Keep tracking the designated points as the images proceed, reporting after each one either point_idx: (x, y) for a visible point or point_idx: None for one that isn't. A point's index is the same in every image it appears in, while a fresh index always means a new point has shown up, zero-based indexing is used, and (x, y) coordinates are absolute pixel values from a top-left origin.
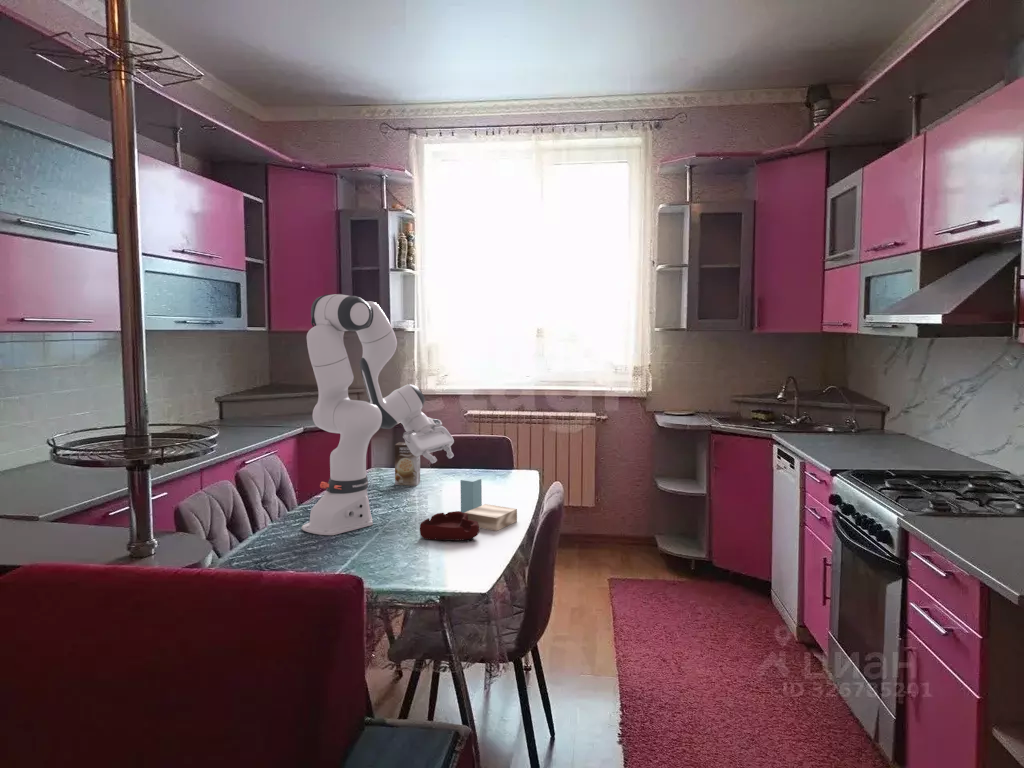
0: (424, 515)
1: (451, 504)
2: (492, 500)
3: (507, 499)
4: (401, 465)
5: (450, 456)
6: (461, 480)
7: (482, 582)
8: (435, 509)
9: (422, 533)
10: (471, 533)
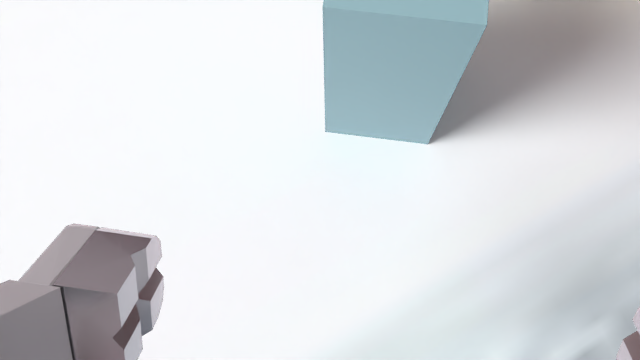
0: (614, 345)
1: (259, 311)
2: (58, 90)
3: (4, 14)
4: None
5: (158, 261)
6: (485, 15)
7: None
8: (436, 354)
9: None
10: None
